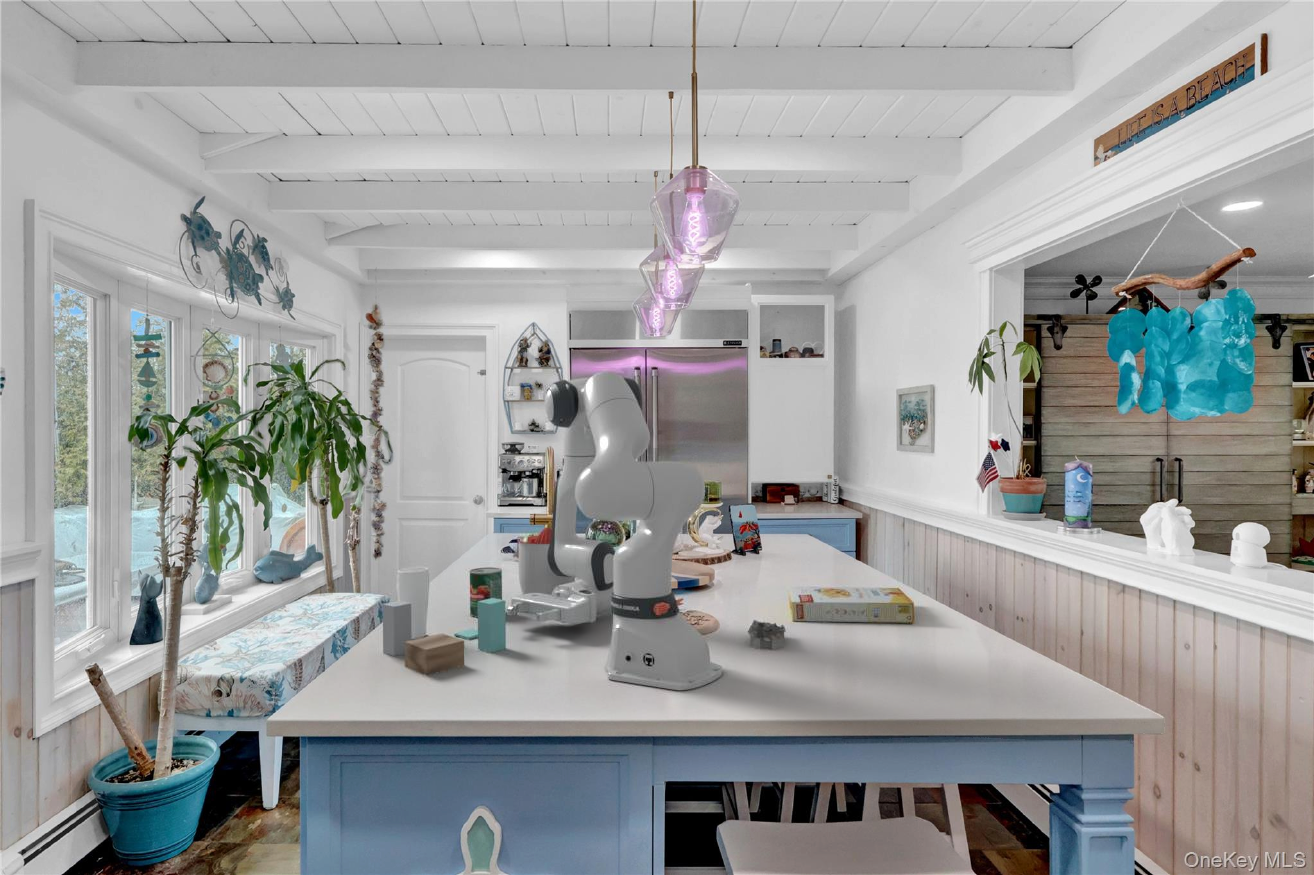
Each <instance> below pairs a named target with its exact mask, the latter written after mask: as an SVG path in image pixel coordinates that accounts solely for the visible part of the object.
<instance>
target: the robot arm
mask: <svg viewBox="0 0 1314 875" xmlns="http://www.w3.org/2000/svg"><path fill="white" fill-rule="evenodd" d="M642 393H643V392H642V390H641V387H640V386H639V384H638V383H637V381H636V380H634V379H633V378H628V377H623V376H622V375H620V373H617V372H615V371H612V370H611V371H610V370H605V371H600V372H597V373H595V374H593V375H592V376H590V377H583V378H577V379H576V378H575V379H574V378H573V379H569V380H566V379H563V380H558V381H555V382H552V383H551V384H550V385H549V386H548V387H547V389H546V394H545V397H544V409H545V413H546V415H547V418H548V420H549V422H550V423H551V424H552V425H553V426H554V427H557V428H564V430H563V466H562V472H561V474H560V475H559V476H558V477H557V479H556V482H555V486H554V493H553V506H552V517H551V520H552V521H551V522H552V523H551V530H552V532H551V540H550V544H549V548H548V553H547V560H548V564H549V566H550V569H551V570H552V572H553V573H554V574H556V575H557V576H562V577H574V578H575V582H571V583H567V584H563V585H559V586H557V587H556V588H555V589H554V590H553V592H552V594H551V595H548V594H542V593H529V594H523V595H522V594H518V595H514V596H512V597H511V600H510V601H511V602H510V606H507V608H506V614H507V616H516V615H518V614H520V615H524V616H529V617H535V618H536V621H537V622H541V623H544V622H547V621H549V622H550V621H553V622H559V623H563V624H567V625H568V624H569V625H577V624H583V623H588V624H591V623H595V622H596V621H597V620H596V619H597V615H601V614H603V613H606V612H608V611H611V613H612V627H611V628H612V630H611V635H610V636H611V637H610V645H609V650H608V655H607V658H606V659H607V660H606V662H605V666H604V668H605V670H606V672H607V679H609V680H612V681H618V682H624V683H629V684H635V685H636V684H637V685H642V686H643V685H644V686H649V687H654V688H656V687H657V688H661V689H666V690H667V689H668V690H673V691H674V690H675V691H685V690H691V689H692V690H693V689H696V688H700V687H702V686H705V685H707V684H710V683H711V682H714V681H716V680H717V679H718V678H720V677H721V676H722V675H723V666H722V665H720V664H718V663H716V662H715V663H714V662H712V661H711V656H710V648H709V645H708V641H707V639H706V638H705V636H703V635H702V634H701V633H700V632H699V631H698V630H697V629H696V628H695V627H694V626H692V624H691V623H690V622H689V621H687V619H686V618H684V616H682V615H681V613H680V608H679V606H681V605H684V602H682V601H684V598H679V599H676V596H675V593H674V592H673V591H672V571H673V568H672V567H673V566H672V565H673V557H674V556H673V555H674V549H675V545H676V543H677V539H678V537H679V534H680V533H681V530H682V529H683V527H684V525H685V524H686V523H687V521H688V520H689V519H690V518H691V516H693V515H694V513H696V512H697V511H698V510H699V509H700V508H701V506H702V504H703V501H704V499H705V494H706V487H705V486H706V484H705V480H704V478H703V476H702V474H701V472H700V471H699V469H698V468H697V467H696V466H695V465H692V464H688V463H683V462H677V461H672V460H671V461H667V460H664V461H640V460H637V459H638V458H640V457H641V456H643V454H644V453H645V452H646V450H647V449H648V447H649V445H650V438H651V435H650V434H651V433H650V432H651V431H650V429H649V426H648V425H647V422H646V419H645V417H644V414H643V411H642V410H643V400H644V399H643V394H642ZM578 509H579V510H580V512H581V513H582V515H584V516H585V517H586V518H588V519H591V520H597V521H602V522H603V521H604V522H613V523H614V522H622V521H623V522H625V521H626V522H627V521H639V524H638V527H637V529H636V531H635V533H634V534H633V535H632V536H630V537H629V538H627V540H624V542H622V543H620V545H618V546H617V548H616V550H615V548H614V547H613V545H612V544H611V543H609V542H608V541H601V540H595V539H587V538H582V537H581V538H580V537H579V536H578V534H577V533H576V525H577V524H576V523H577V510H578Z"/></svg>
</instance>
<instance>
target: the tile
mask: <svg viewBox="0 0 1314 875" xmlns="http://www.w3.org/2000/svg"><path fill="white" fill-rule="evenodd" d="M453 634H454V636H453V637H455V636H459V637H462V638H461V639H463V638H466V639H465V640H467V639H470V640H472V639H471V638H474V639H476V638H475V637H477V638H478V629H475V628H471V629H467V630H463V631H459V632H454V633H453ZM459 637H458V638H459Z"/></svg>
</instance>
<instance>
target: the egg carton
mask: <svg viewBox="0 0 1314 875" xmlns="http://www.w3.org/2000/svg"><path fill="white" fill-rule="evenodd" d="M786 631H787V629H786V627H785V625H784V624H781V625H780V626H779V625H777V623H776V622H774V623H771V622H765V621H763V622H761V621H758V620H755V619H754V620H753V621H752V623H751V625H750V627H749V629H748V630H747V633H748V635H749V647H751V648H754V647H755V649H757V650H758V649H763V647H768V649H771V650H774V651H775V650H780V649H783V646H784V641H785V633H786ZM760 636H761V637H760Z"/></svg>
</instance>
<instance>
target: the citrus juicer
mask: <svg viewBox="0 0 1314 875" xmlns="http://www.w3.org/2000/svg"><path fill="white" fill-rule="evenodd" d="M551 532H552V528H550V527H544V528H543V529H542V530H541V531H540V532H539V534H538V535H531V536H527V541H522V540H520V539H517V540H516V542H517V544H516V545H517V549H516V550H517V551H515V552H514V553H512V554H513V555H512V558H517V560H518V581H519V586H520V590H521V595H523V594H529V593H542V594H548V595H551V594H552V592H553V590H554V589H555V588H556V587H557V586H559V585H563V584H567V583H571V582H575V581H576V578H574V577H562V576H557V575H556V574H554V573H553V572H552V570H551V569H550V566H549V564H548V560H547V553H548V548H549V544H550V540H551Z"/></svg>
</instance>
